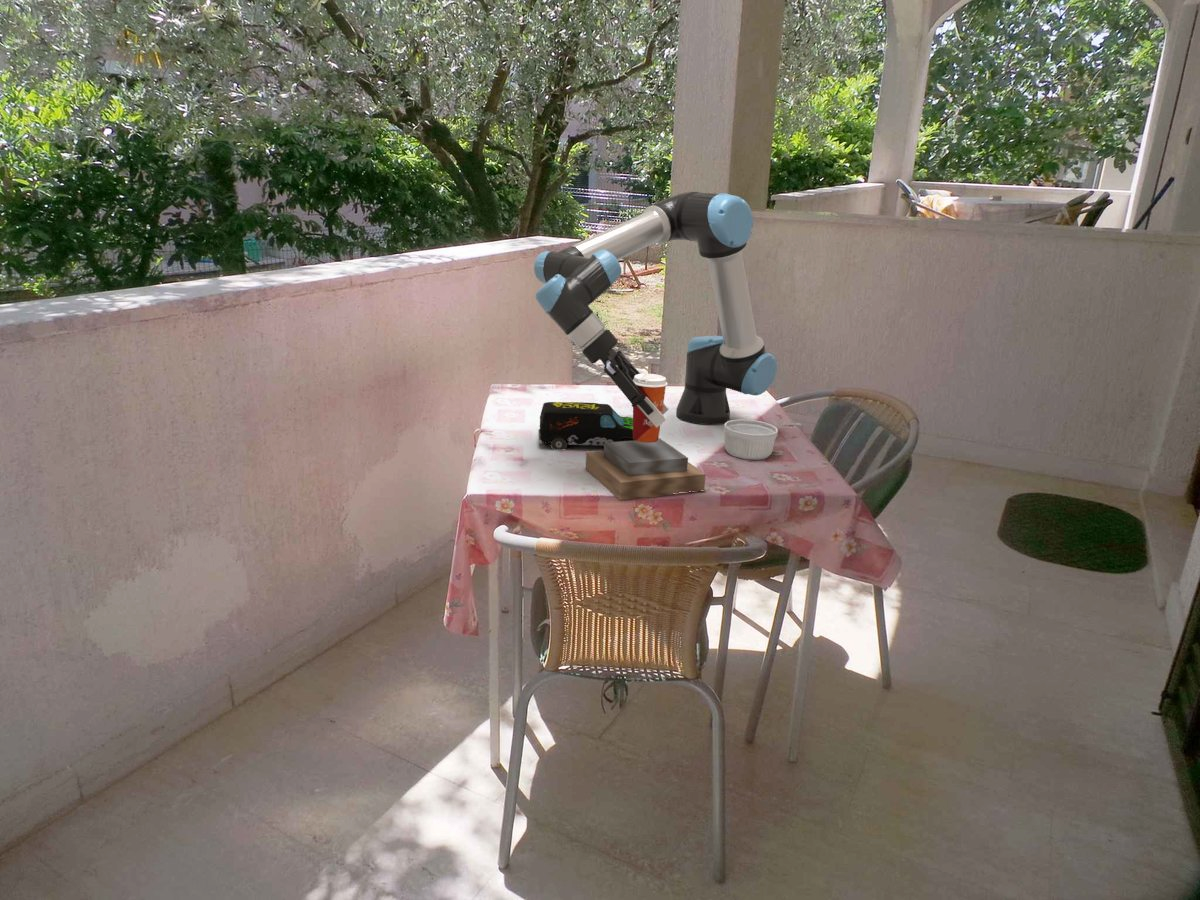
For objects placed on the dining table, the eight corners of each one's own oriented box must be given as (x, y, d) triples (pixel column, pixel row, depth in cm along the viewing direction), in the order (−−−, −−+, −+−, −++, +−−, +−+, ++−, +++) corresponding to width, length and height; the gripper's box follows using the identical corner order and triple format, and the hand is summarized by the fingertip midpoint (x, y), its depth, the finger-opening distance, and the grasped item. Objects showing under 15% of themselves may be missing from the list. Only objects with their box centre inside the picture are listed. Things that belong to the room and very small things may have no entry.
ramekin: (782, 452, 215) (786, 426, 213) (762, 465, 204) (765, 438, 202) (734, 441, 222) (737, 415, 219) (712, 453, 211) (715, 427, 209)
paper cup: (652, 446, 182) (657, 382, 178) (621, 439, 186) (625, 376, 182) (669, 438, 189) (674, 376, 184) (639, 431, 193) (643, 371, 188)
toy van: (639, 452, 209) (641, 413, 206) (538, 450, 207) (539, 410, 204) (634, 439, 219) (636, 402, 216) (538, 437, 217) (539, 399, 214)
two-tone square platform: (663, 461, 203) (665, 433, 201) (704, 491, 186) (706, 461, 183) (585, 468, 196) (587, 439, 193) (620, 500, 178) (621, 468, 176)
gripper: (587, 341, 193) (653, 416, 196) (572, 360, 174) (645, 442, 177) (612, 320, 191) (678, 395, 194) (599, 336, 171) (673, 420, 175)
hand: (662, 418), depth 186 cm, fingers closed on paper cup, 8 cm apart
